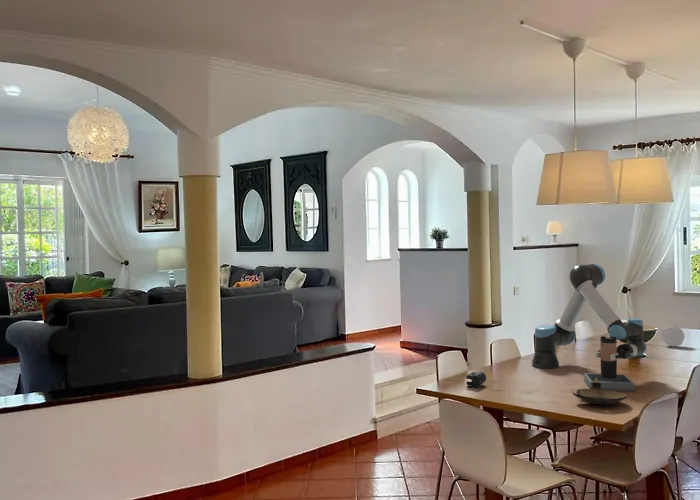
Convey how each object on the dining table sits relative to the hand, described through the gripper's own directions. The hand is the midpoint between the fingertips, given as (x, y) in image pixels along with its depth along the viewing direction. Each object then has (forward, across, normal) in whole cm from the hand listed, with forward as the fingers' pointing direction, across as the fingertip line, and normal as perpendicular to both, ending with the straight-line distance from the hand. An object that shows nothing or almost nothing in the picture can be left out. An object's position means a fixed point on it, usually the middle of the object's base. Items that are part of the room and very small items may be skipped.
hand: (603, 356), depth 318 cm
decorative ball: (-140, +29, -16) cm, 144 cm away
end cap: (+44, +44, -16) cm, 64 cm away
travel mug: (-5, 0, -11) cm, 12 cm away
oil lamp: (+26, -14, -16) cm, 34 cm away
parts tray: (-5, 0, -16) cm, 16 cm away
